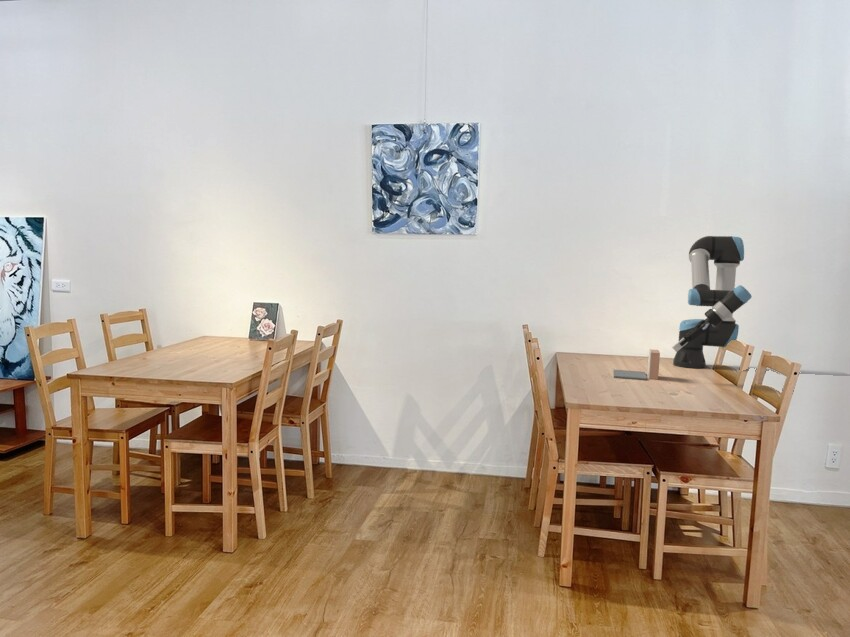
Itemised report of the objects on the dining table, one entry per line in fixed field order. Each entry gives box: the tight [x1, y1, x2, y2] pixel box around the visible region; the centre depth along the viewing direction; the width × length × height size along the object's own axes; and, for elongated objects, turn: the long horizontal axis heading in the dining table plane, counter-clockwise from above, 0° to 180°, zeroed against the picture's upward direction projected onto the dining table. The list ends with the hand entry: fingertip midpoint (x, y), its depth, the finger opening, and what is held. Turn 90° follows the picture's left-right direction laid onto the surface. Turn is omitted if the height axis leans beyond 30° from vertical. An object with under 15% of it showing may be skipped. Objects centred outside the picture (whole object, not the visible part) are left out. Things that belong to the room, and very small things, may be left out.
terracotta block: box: [646, 348, 661, 381], centre depth 297 cm, size 4×9×12 cm, turn 165°
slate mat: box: [613, 369, 648, 381], centre depth 300 cm, size 14×16×1 cm
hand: (674, 349), depth 293 cm, fingers closed
